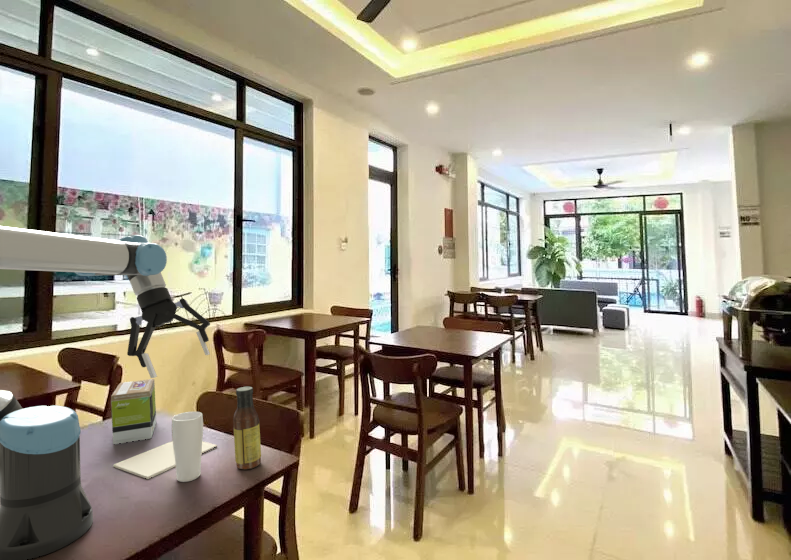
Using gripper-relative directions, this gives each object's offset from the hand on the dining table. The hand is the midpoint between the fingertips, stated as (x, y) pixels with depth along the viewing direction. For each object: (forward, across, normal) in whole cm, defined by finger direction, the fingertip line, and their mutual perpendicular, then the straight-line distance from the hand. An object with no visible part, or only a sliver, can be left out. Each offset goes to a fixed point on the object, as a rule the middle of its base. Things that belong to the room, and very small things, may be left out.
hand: (181, 365), depth 109 cm
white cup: (+26, +7, +4) cm, 27 cm away
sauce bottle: (+30, -6, +1) cm, 31 cm away
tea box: (+11, +24, -29) cm, 40 cm away
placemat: (+20, +13, -9) cm, 26 cm away
